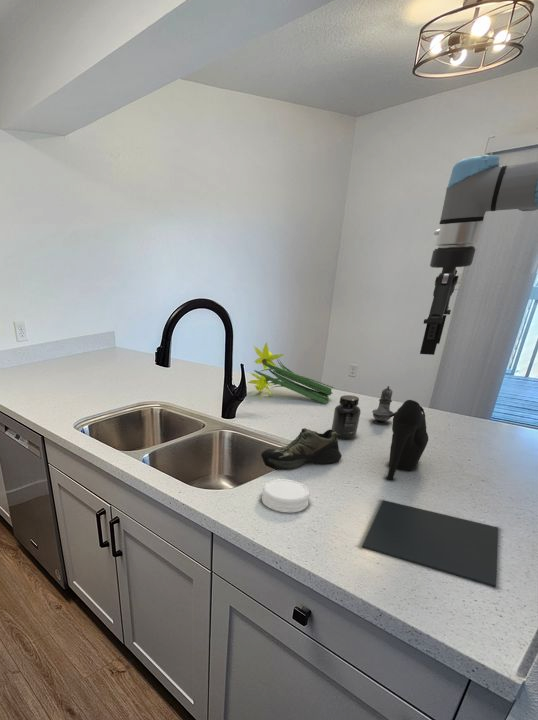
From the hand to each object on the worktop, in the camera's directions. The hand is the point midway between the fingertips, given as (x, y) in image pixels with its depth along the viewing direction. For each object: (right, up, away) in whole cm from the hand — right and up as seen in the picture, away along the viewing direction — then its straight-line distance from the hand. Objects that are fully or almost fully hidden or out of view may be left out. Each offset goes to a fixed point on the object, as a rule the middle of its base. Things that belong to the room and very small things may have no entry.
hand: (429, 348), depth 102 cm
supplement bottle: (-7, -18, +28) cm, 34 cm away
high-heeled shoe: (-3, -29, +7) cm, 30 cm away
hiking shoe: (-25, -27, +14) cm, 39 cm away
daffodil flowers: (-10, +1, +66) cm, 67 cm away
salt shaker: (+9, -13, +36) cm, 39 cm away
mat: (-13, -42, -18) cm, 48 cm away
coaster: (-35, -36, -3) cm, 51 cm away
